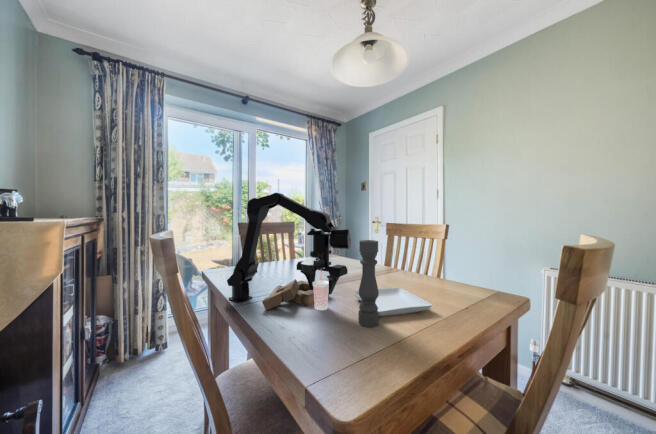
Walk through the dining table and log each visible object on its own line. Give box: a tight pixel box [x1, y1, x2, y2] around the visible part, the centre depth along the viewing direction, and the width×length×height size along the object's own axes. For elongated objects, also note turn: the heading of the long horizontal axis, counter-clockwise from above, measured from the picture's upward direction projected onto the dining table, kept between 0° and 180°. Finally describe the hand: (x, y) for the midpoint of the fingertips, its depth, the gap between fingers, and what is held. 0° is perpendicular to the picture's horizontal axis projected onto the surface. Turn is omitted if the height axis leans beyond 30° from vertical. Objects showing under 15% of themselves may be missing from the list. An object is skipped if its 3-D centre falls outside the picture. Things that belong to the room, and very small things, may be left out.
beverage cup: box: [312, 270, 329, 311], centre depth 87 cm, size 6×6×14 cm
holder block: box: [279, 280, 330, 307], centre depth 98 cm, size 15×13×4 cm
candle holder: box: [357, 239, 380, 328], centre depth 75 cm, size 6×6×25 cm
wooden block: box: [261, 279, 299, 312], centre depth 93 cm, size 4×11×18 cm
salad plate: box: [352, 287, 433, 317], centre depth 89 cm, size 21×21×3 cm
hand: (321, 292), depth 87 cm, fingers closed on beverage cup, 8 cm apart
